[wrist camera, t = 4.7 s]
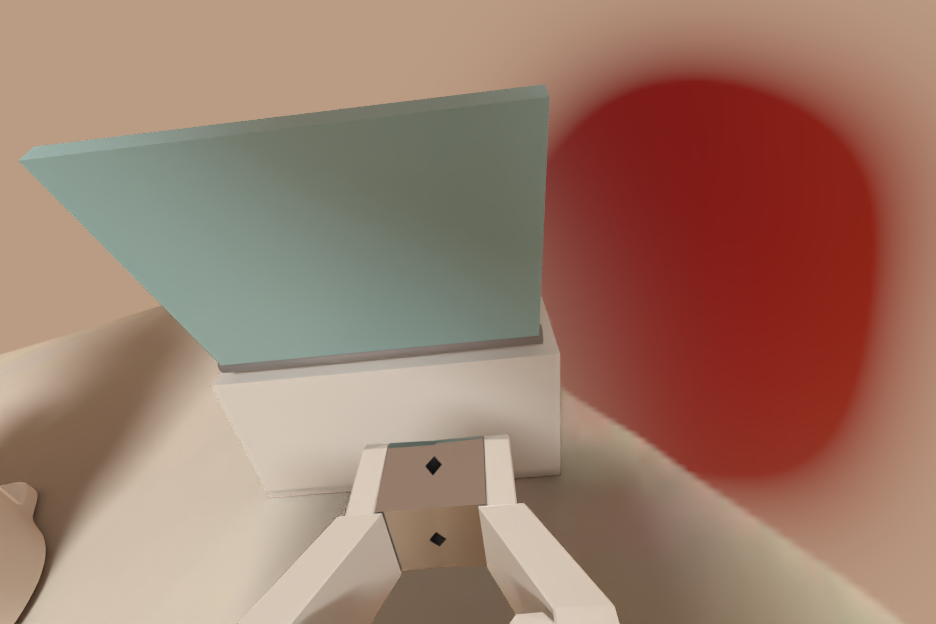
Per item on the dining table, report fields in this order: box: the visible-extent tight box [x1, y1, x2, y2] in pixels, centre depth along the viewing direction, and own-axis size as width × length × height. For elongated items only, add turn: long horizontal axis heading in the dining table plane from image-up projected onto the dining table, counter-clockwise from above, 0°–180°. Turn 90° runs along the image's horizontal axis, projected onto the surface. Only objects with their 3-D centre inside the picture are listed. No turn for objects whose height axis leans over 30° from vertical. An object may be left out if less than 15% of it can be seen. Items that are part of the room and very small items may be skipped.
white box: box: [211, 296, 560, 498], centre depth 30 cm, size 18×12×9 cm
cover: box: [19, 85, 549, 373], centre depth 18 cm, size 16×12×1 cm
